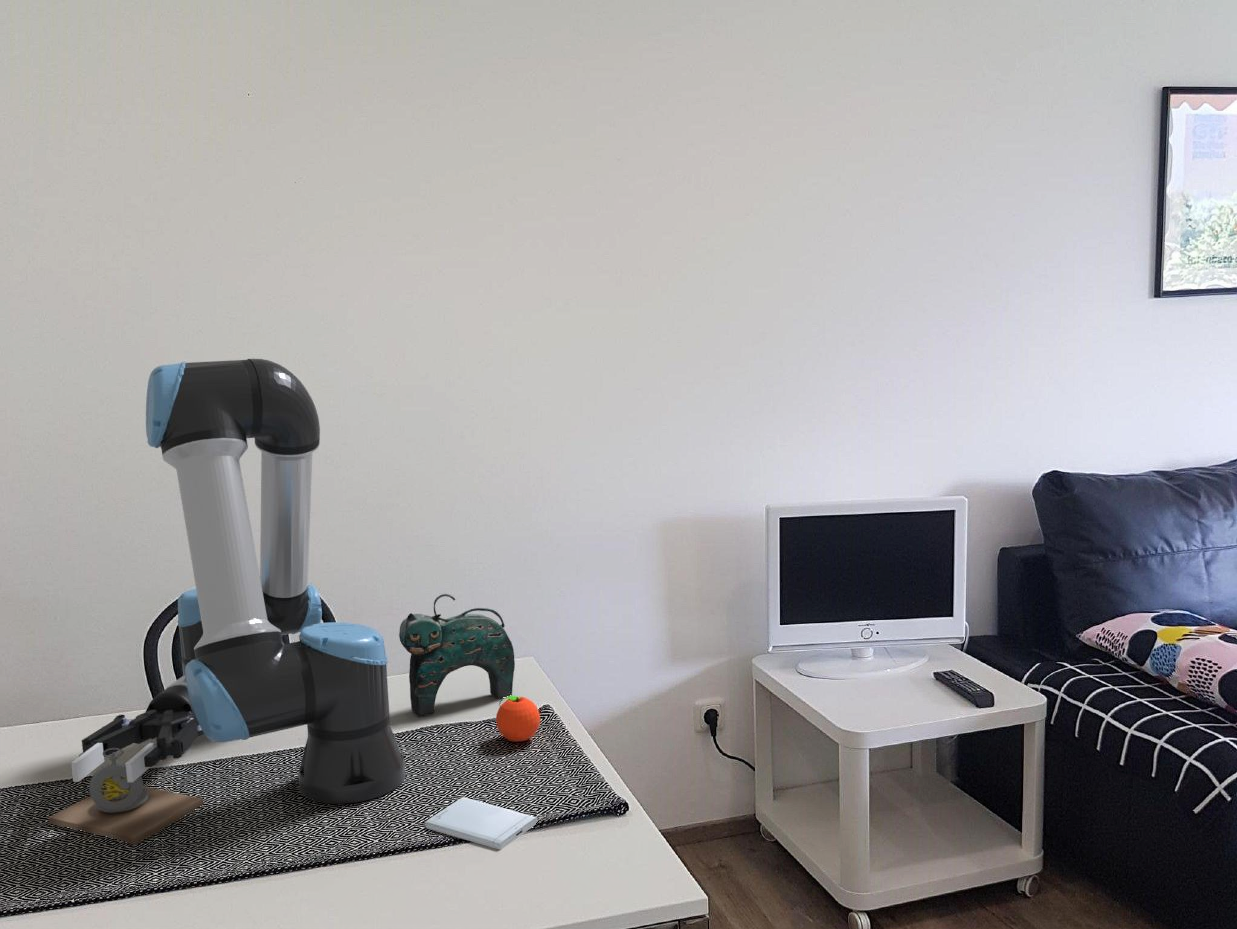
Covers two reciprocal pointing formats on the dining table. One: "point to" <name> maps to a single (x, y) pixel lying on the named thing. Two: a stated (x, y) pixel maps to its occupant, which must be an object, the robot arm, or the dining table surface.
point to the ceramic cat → (455, 653)
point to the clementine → (517, 718)
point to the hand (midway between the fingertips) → (102, 772)
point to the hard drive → (481, 823)
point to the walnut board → (128, 816)
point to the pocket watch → (116, 787)
